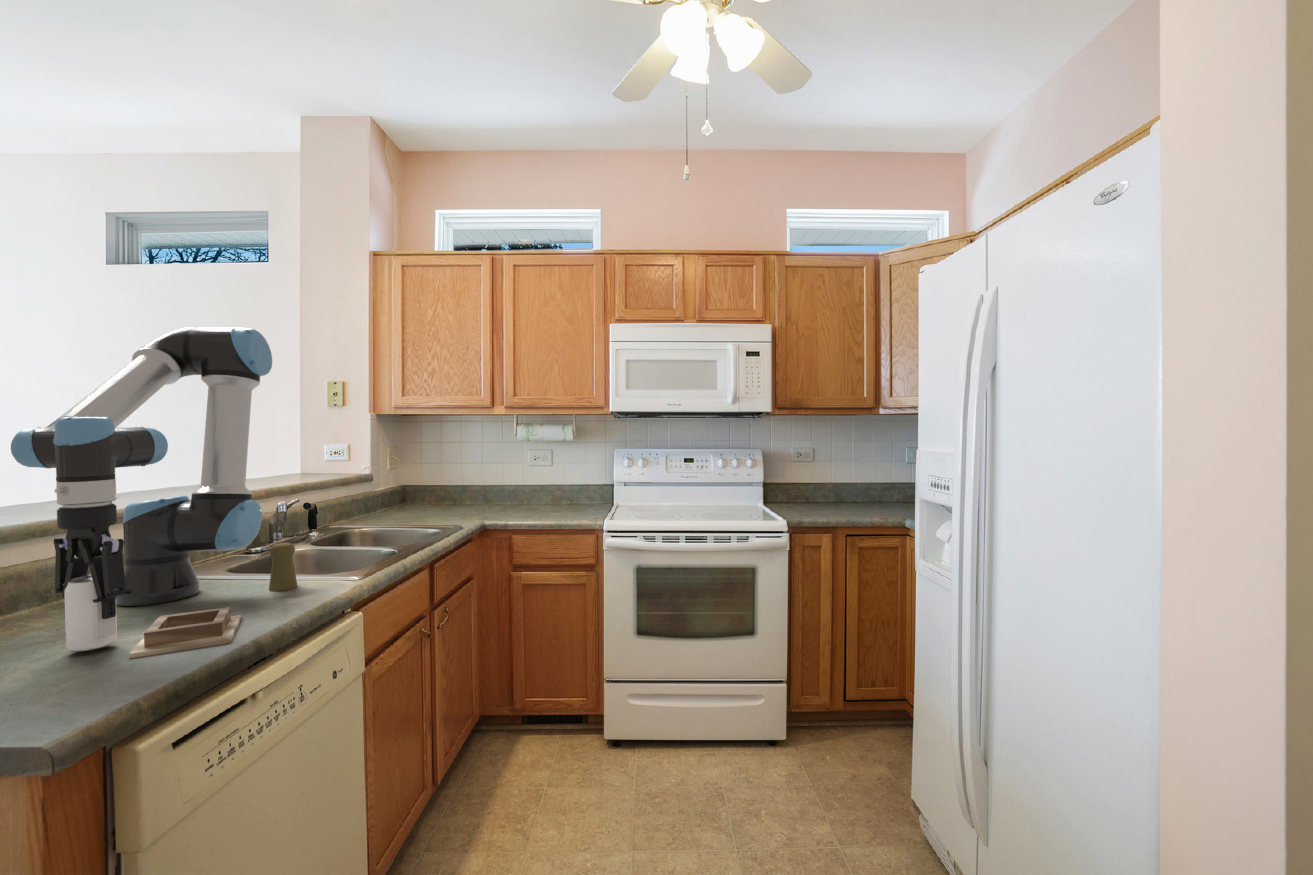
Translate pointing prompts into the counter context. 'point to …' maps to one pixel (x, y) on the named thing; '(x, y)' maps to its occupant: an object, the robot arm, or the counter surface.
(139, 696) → the counter surface
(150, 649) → the keeper board
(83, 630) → the can
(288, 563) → the cork
